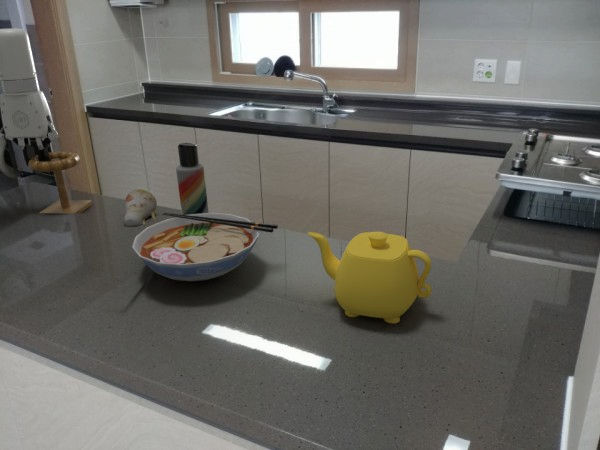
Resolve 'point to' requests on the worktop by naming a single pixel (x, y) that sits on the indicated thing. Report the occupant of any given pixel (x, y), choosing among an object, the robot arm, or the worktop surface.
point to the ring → (55, 162)
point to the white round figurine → (139, 207)
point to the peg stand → (65, 198)
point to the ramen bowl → (198, 245)
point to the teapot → (376, 275)
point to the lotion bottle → (191, 181)
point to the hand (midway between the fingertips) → (38, 163)
